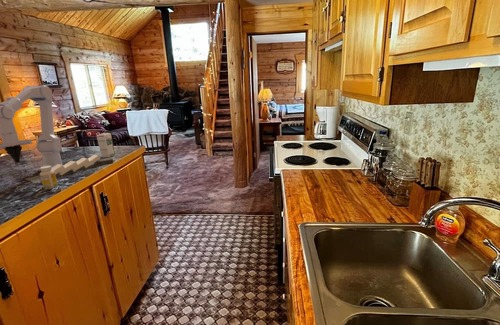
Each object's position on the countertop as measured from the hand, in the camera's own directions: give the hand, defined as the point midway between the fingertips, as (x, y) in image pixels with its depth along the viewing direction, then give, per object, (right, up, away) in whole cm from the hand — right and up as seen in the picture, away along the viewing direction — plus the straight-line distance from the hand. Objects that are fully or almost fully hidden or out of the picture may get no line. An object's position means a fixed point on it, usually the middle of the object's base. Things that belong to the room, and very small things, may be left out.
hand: (17, 162), depth 123 cm
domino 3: (+14, -4, +16) cm, 21 cm away
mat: (+11, -5, +17) cm, 21 cm away
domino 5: (+21, -1, +25) cm, 33 cm away
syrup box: (+19, +3, +44) cm, 48 cm away
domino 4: (+17, -2, +21) cm, 27 cm away
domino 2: (+11, -5, +11) cm, 16 cm away
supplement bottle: (+19, -11, -4) cm, 22 cm away
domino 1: (+8, -7, +6) cm, 12 cm away
